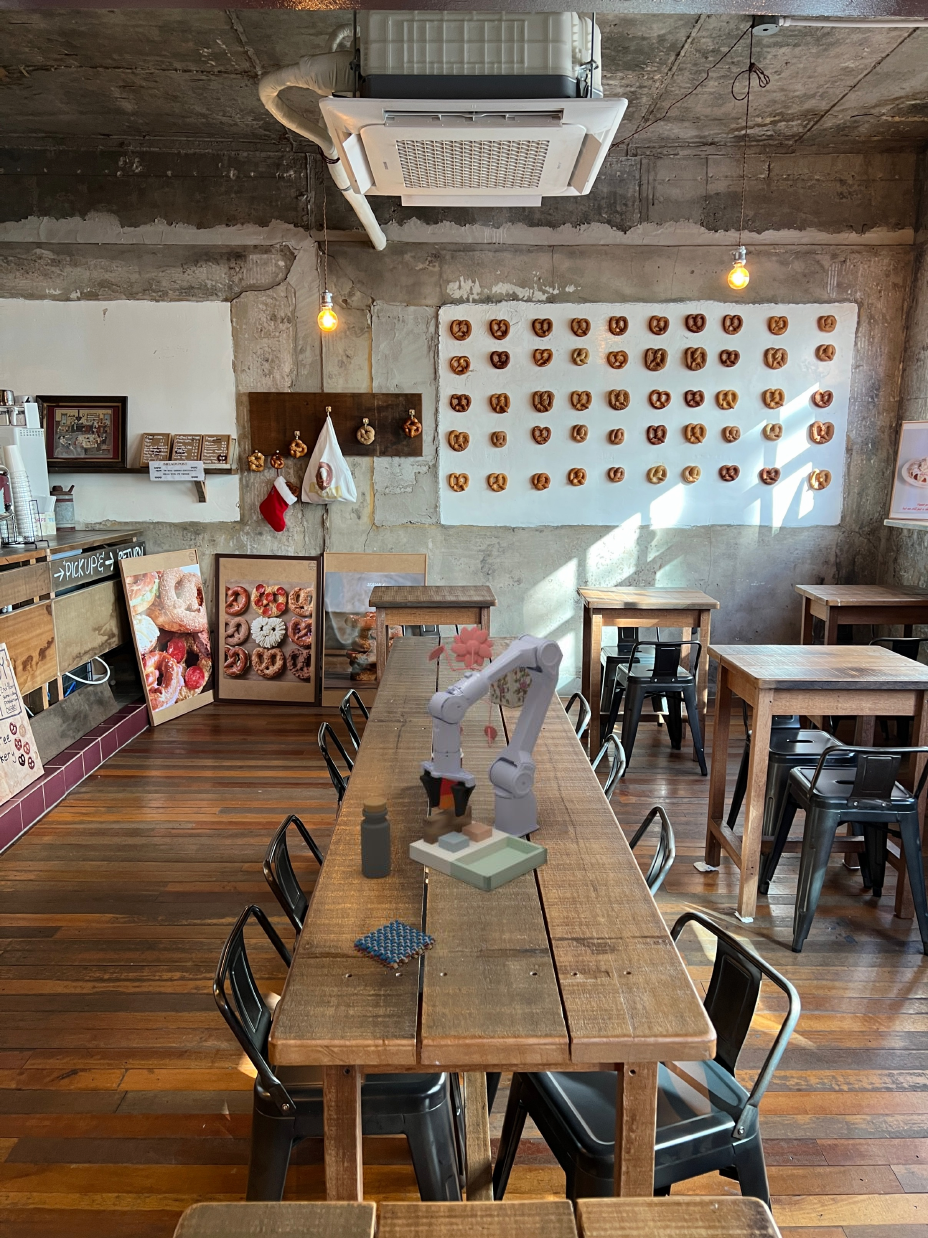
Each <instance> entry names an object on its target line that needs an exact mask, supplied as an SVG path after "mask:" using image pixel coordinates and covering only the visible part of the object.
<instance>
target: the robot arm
mask: <svg viewBox="0 0 928 1238" xmlns="http://www.w3.org/2000/svg"><path fill="white" fill-rule="evenodd" d="M563 658H564V654H563V652H562V649H561V647H560V645H559V644H558V642H557V641H556V640H554V639H546V638H543V637H538V636H533V635H532V634H528V633H525V634H522V635H520V636H519V637H518V638H516V639H515V640H513V641H511V642H510V645H509V647H508V648H507V649H506V650H505V651H504V652H502V653H501V654H499V656H498V657H496V658H495V659H494V660H493V661H491V663H489V664H488V665H487V666H486V667H485V668H483V669H482V671H477V670H475V671H473V670H472V671H471V672H470V671H467V672H465V673H464V674H463V676H464V677H462V678H461V679H460V680H458V681H456V682H455V683H454V684H452V685H449V686H448V687H447V688H446V691H445V690H444V691H438V692H436V693H434V694H433V695H432V697H431V698H430V701H429V703H428V704H427V705H426V708H427V712H428V714H429V715H430V716H431V718H432V722H431V723H432V741H433V743H432V745H433V746H432V753H433V757H432V761H429V760H425V761H422V762H420V763H419V764H420V772H422V773H423V774H422V775H419V780H420V782H421V784H422V785H423V788H424V790H425V793H426V795H427V799H428V802H429V806H430V808H432V809H434V808H436V807H437V806H439V805H440V796H441V784H442V780H443V778H447V779H450V780H453V781H456V782H458V784H455V785H452V786H450V789H451V791H452V794H453V798H454V805H455V815H456V817H461V816H463V815H465V811H466V807H467V805H469V804H468V803H469V801H470V798H471V795H472V793H473V791H474V790H475V788H476V787H477V786H476V776H475V775H473V774H471V773H469V772H468V771H467V770H465V769H464V768H463V767H462V768H461V749H462V748H461V735H460V726H461V721H462V720H463V719H464V718H465V716H466V713H467V711H468V710H469V709H470V707H471V706H473V705H474V704H475V703H477V702H478V701H480V700H481V699H483V697H485V696H486V695H488V694H489V693H490V684H492V683H494V682H495V681H497V680H498V679H500V678H501V677H503V676H504V675H506V674H507V673H509V672H510V671H512V670H514V669H515V668H517V667H519V666H520V667H525V668H526V669H527V670H528V672H529V675H530V677H531V679H532V683H531V685H530V688H529V691H528V693H527V696H526V699H525V702H524V704H523V706H521V710H520V713H519V715H518V718H517V721H516V725H515V727H514V730H513V733H512V734H511V735H512V736H511V737H510V741H509V743H508V745H507V747H505V748H503V749H501V750H500V751H498V754H497V756H496V758H495V759H494V760H493V762H492V763H491V764H490V766H489V768H488V772H487V776H488V780H489V782H490V783H491V784H492V785H493V790H494V824H493V825H491V826H490V827H492V828H493V829H496V830H499V831H502V832H504V833H507V834H510V835H512V836H515V837H518V838H520V837H523V836H525V835H528V834H529V833H531V832H534V831H536V830H538V829H540V828H541V826H540V825H538V819H537V818H538V803H537V799H538V798H537V797H536V794H535V792H534V791H533V790H532V789H533V787H534V783H535V772H536V769H537V765H536V762H535V761H534V758H533V752H534V749H535V746H536V743H537V741H538V737H539V735H540V733H541V730H542V726H543V725H544V722H545V719H546V716H547V713H548V711H549V708H550V705H551V702H552V699H553V697H554V694H555V691H556V688H557V686H558V683H559V679H560V678H559V677H560V673H559V672H560V666H561V663H562V660H563ZM460 748H461V749H460ZM437 808H438V807H437Z"/></svg>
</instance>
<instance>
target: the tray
mask: <svg viewBox="0 0 928 1238" xmlns="http://www.w3.org/2000/svg"><path fill="white" fill-rule="evenodd" d="M547 862H548V847H545V846H542V845H540V844H537V843H533V842H532V841H528V840H525V839H523V838H520V837H519V838H518V837H515V836H512V835H509V836H507V847H506V848H504V849H502V850H499V851H497V852H495V853H493V854H491V855H489V856H486V857H484V858H482V859H480V860H478V861H475V862H473V863H471V864H469V865H465V864H462V863H460V862H457V861H455V860H453V861H450V875H449V876H450V877H452V878H454V879H457V880H459V881H462V882H464V883H466V884H468V885H470V886H472V887H475V888H477V889H478V890H479V889H480V890H482V891H484V892H487V893H489V892H490V891H492V890H494V889H496V888H499V887H501V886H502V885H505V884H507V883H509V882H510V881H512V880H514V879H516V878H518V877H520V876H523V875H525V874H526V873H528V872H530V871H532V870H535V869H536V868H539V867H540V866H542V865H544V864H547Z"/></svg>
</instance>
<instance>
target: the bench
mask: <svg viewBox="0 0 928 1238" xmlns="http://www.w3.org/2000/svg"><path fill="white" fill-rule="evenodd" d="M475 822H476V821H474V820H472V823H475ZM460 834H462V832H461V833H460ZM509 835H510V834H507V833H504V832H502V831H499V830H496V829H493V828H492V837H490V838H487V839H485V840H483V841H481V842H478V843H477V842H474V841H472V840H469V847H467V848H465V849H462V850H460V851H458V852H455V853H452V852H450V851H447V850H445V849H442V848H440V847H438V842H437V843H435V844H432V845H431V844H429V843H426V842H424V841H423V838H422V839H420V840H419V839H418V840H417V841H414V842H412V843H409V859H411V860H413V861H416V862H418V863H421V864H423V865H425V866H427V867H429V868H432V869H434V870H436V871H439V872H441V873H443V874H445V875H448V876H450V861H453V860H455V861H457V862H460V863H462V864H465V865H469V864H471V863H473V862H475V861H478V860H480V859H482V858H484V857H486V856H489V855H491V854H493V853H495V852H497V851H499V850H502V849H504V848H506V847H507V836H509Z"/></svg>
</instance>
